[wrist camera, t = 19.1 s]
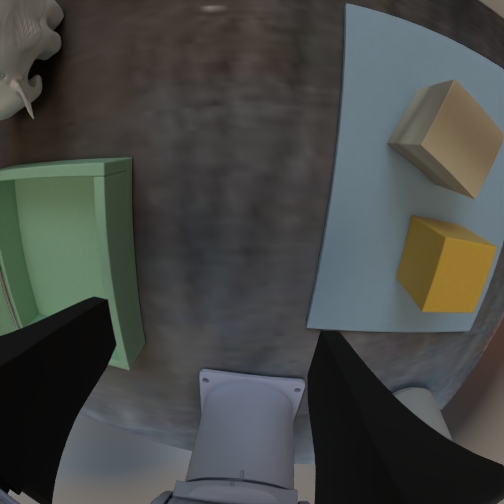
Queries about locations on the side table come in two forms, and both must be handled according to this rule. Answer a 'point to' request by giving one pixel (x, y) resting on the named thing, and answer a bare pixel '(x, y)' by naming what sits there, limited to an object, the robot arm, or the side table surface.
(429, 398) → the beverage can
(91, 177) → the box
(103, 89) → the side table surface
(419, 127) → the birch block
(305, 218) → the side table surface
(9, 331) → the lunchbox lid
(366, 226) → the placemat
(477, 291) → the mustard block
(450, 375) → the side table surface
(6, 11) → the elephant figurine
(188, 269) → the side table surface
